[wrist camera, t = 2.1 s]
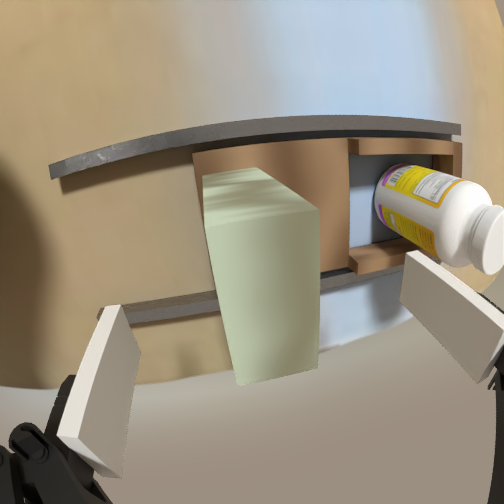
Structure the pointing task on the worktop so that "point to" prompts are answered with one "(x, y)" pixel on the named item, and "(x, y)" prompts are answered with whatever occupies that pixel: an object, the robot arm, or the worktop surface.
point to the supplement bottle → (442, 216)
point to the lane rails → (232, 130)
